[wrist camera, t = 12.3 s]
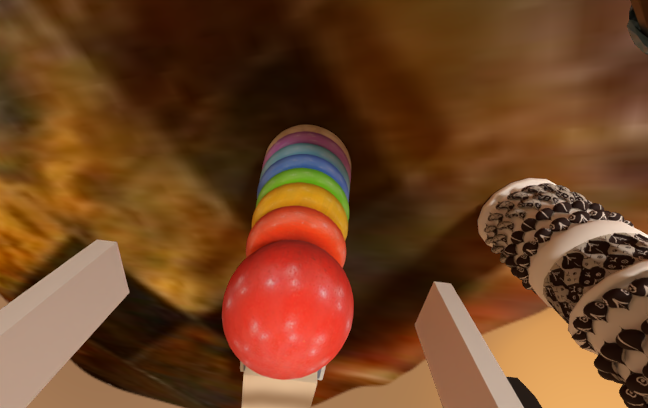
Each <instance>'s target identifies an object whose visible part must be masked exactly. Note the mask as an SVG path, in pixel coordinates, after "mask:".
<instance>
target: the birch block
mask: <svg viewBox="0 0 648 408" xmlns="http://www.w3.org/2000/svg"><path fill="white" fill-rule="evenodd" d="M317 372H318V371H317ZM317 372H315V373H312V374H310V375H308V376H305V377H302V378H297V379H290V380H280V379H273V378H269V377H265V376H262V375H260V374H258V373H256V372H254V371H252V370H251V369H249V368H248V367H247V366H246V368H245V371H244V376H243V394H242V408H310V407H311V403H312V400H313V396H314V393H315V389H316V385H317Z"/></svg>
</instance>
